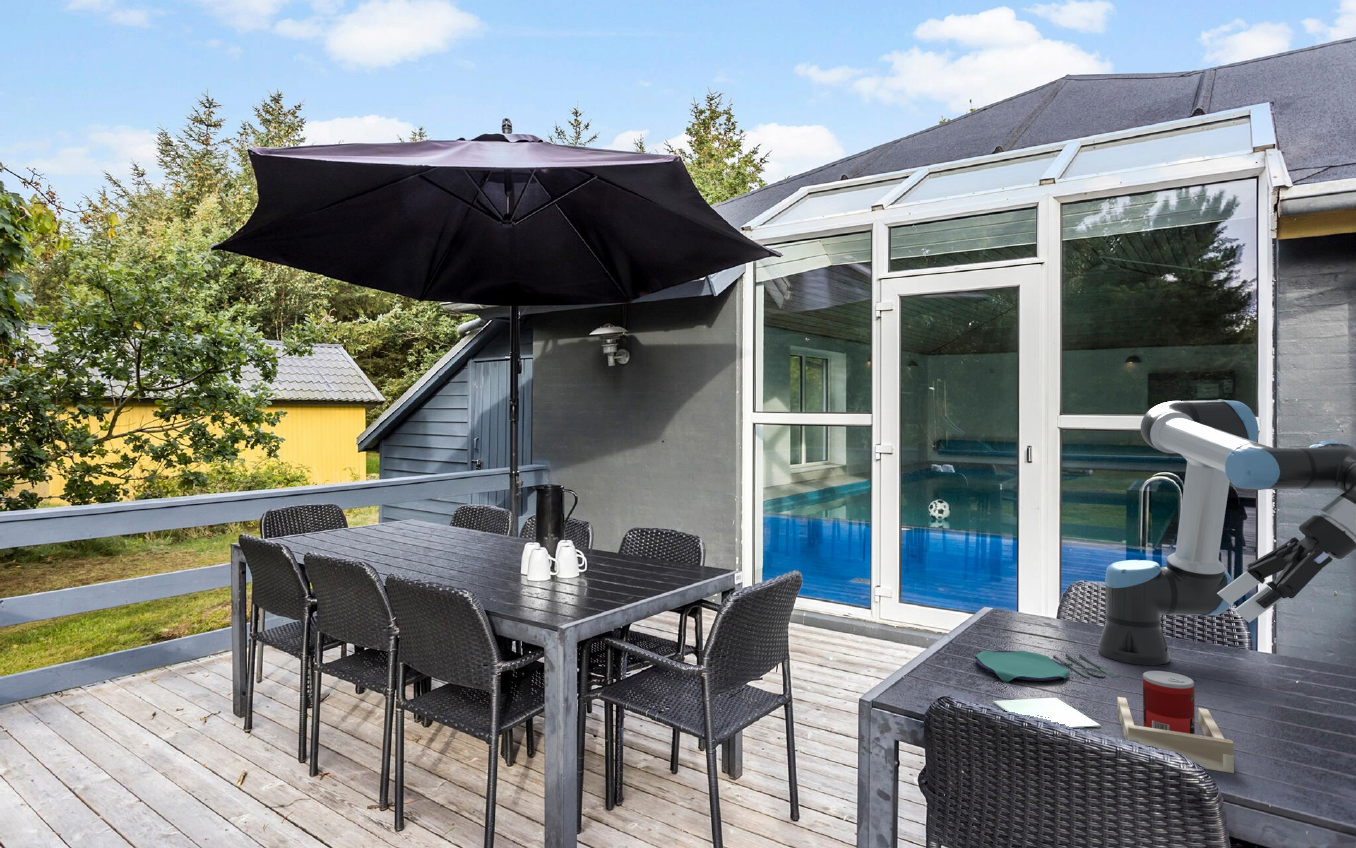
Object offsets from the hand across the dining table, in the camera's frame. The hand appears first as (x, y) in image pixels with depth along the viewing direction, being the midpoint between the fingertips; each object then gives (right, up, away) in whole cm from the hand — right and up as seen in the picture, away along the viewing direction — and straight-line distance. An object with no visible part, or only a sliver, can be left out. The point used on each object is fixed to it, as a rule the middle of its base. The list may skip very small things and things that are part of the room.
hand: (1231, 607), depth 131 cm
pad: (-27, -25, +15) cm, 40 cm away
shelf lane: (-9, -25, +3) cm, 27 cm away
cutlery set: (-14, -26, +41) cm, 50 cm away
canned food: (-9, -25, +4) cm, 27 cm away
